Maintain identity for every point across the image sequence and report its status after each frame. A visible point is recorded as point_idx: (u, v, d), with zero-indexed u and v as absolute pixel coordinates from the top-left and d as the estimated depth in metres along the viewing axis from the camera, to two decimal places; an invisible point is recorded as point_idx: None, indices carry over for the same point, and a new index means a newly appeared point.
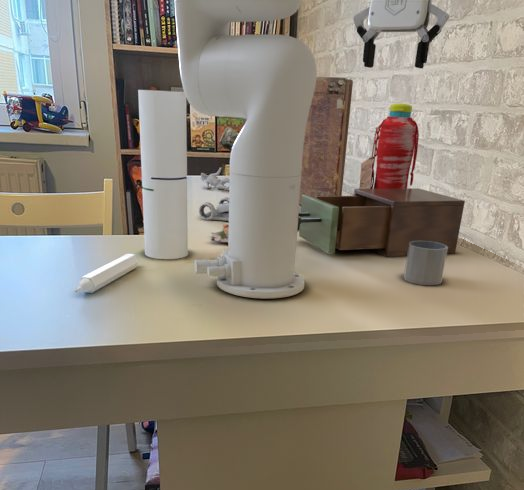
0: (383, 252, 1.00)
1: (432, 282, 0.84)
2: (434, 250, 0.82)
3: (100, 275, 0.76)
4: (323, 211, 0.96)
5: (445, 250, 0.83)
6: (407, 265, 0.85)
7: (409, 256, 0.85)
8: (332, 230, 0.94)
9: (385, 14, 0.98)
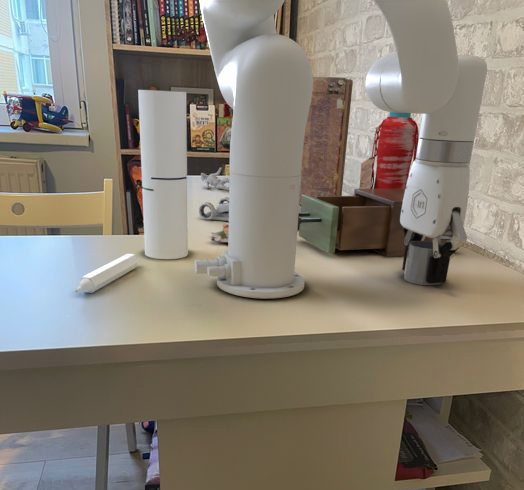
0: (383, 252, 1.00)
1: None
2: None
3: (100, 275, 0.76)
4: (323, 211, 0.96)
5: None
6: (407, 265, 0.85)
7: (409, 256, 0.85)
8: (332, 230, 0.94)
9: (410, 215, 0.83)
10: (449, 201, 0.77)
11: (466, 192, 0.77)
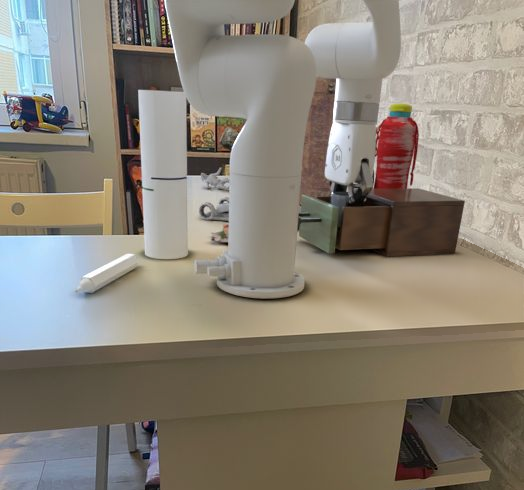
0: (383, 252, 1.00)
1: None
2: None
3: (100, 275, 0.76)
4: (323, 211, 0.96)
5: None
6: None
7: (331, 203, 1.00)
8: (332, 230, 0.94)
9: (331, 168, 0.98)
10: (358, 153, 0.92)
11: (373, 145, 0.93)
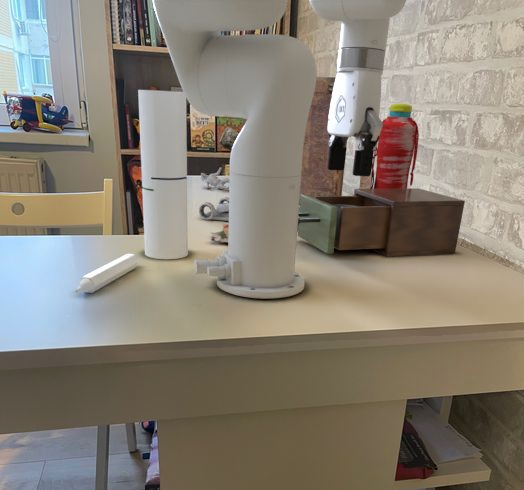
0: (383, 252, 1.00)
1: None
2: None
3: (100, 275, 0.76)
4: (322, 211, 0.96)
5: None
6: None
7: None
8: (331, 230, 0.94)
9: (334, 121, 0.95)
10: (363, 101, 0.89)
11: (378, 94, 0.89)
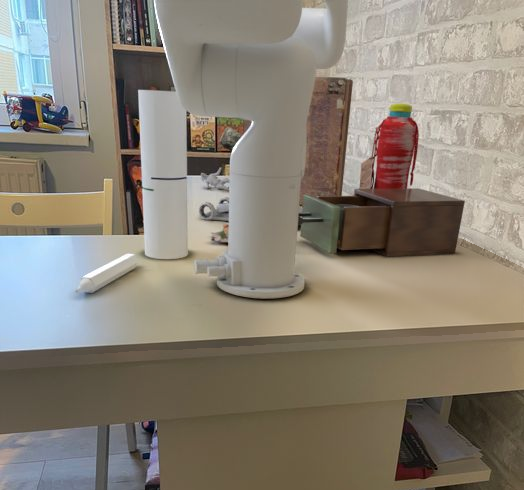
0: (383, 252, 1.00)
1: None
2: None
3: (100, 275, 0.76)
4: (325, 211, 0.96)
5: None
6: None
7: None
8: (334, 230, 0.94)
9: None
10: None
11: (303, 138, 0.88)
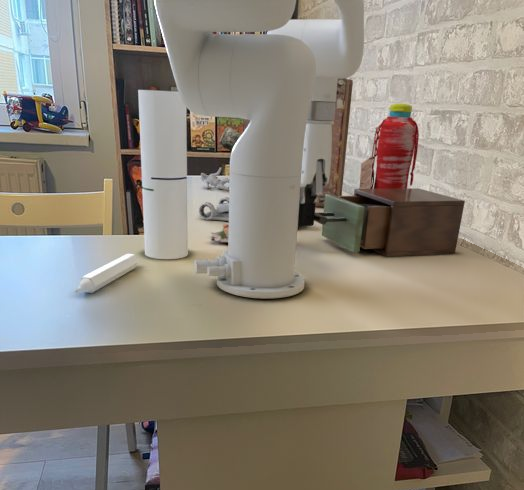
0: (383, 252, 1.00)
1: None
2: None
3: (100, 275, 0.76)
4: (348, 211, 0.97)
5: None
6: None
7: None
8: (357, 229, 0.96)
9: None
10: (313, 153, 0.90)
11: (328, 146, 0.90)
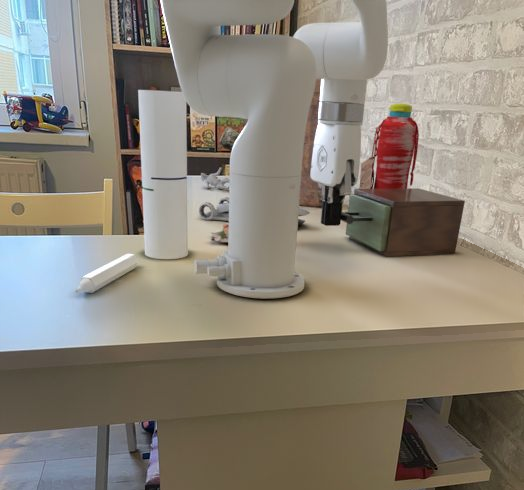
0: (383, 252, 1.00)
1: None
2: None
3: (100, 275, 0.76)
4: (374, 210, 0.99)
5: None
6: None
7: None
8: (384, 228, 0.97)
9: (316, 169, 0.98)
10: (343, 154, 0.91)
11: (358, 146, 0.92)
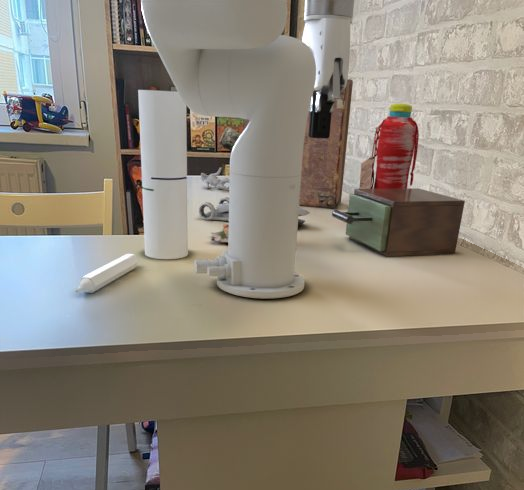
0: (383, 252, 1.00)
1: None
2: None
3: (100, 275, 0.76)
4: (374, 210, 0.99)
5: None
6: None
7: None
8: (384, 228, 0.97)
9: None
10: (331, 51, 0.84)
11: (347, 43, 0.85)
